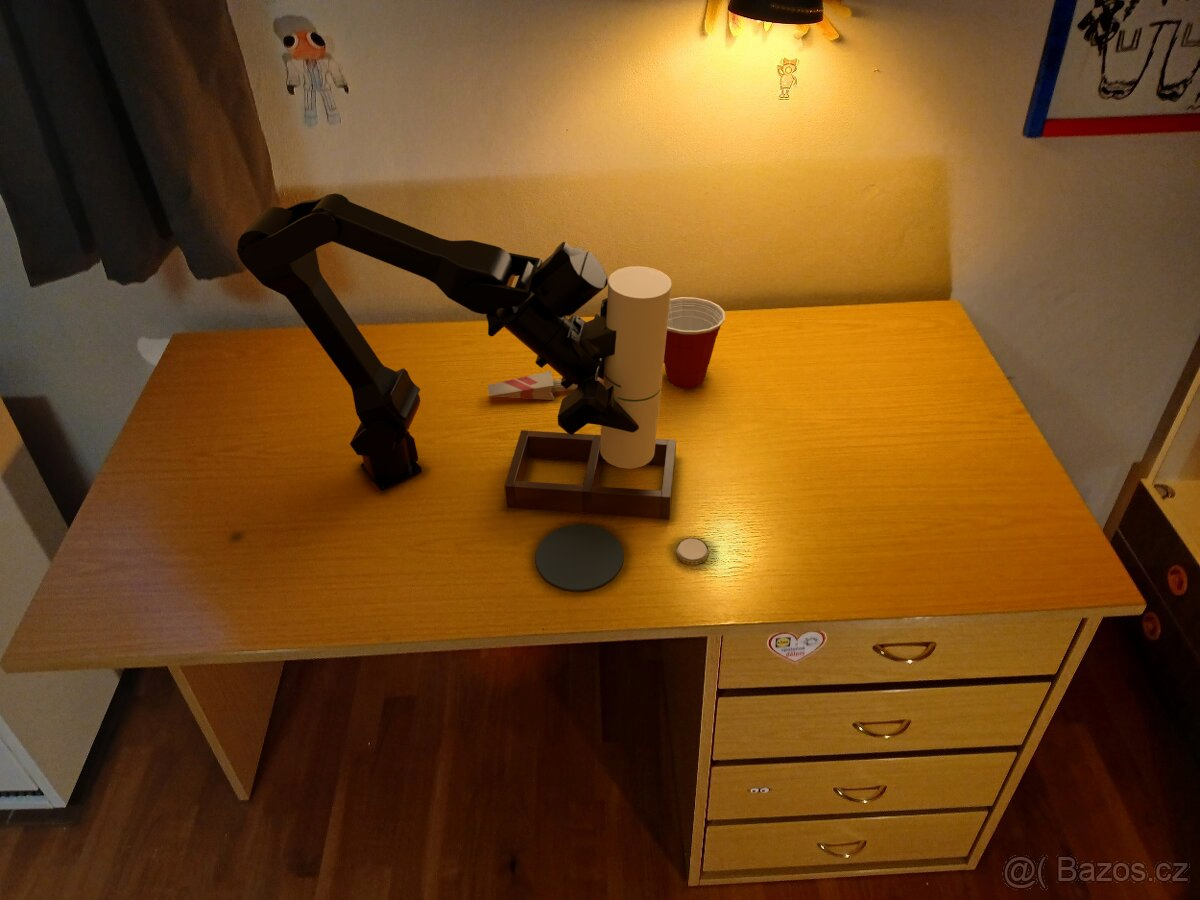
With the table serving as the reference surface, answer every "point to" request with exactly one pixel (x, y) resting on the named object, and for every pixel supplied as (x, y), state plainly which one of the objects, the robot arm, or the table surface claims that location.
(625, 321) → the cylindrical container
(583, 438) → the rectangular frame
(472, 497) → the table surface
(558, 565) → the coaster
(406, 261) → the robot arm
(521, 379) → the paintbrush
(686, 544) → the bottle cap
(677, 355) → the plastic cup
